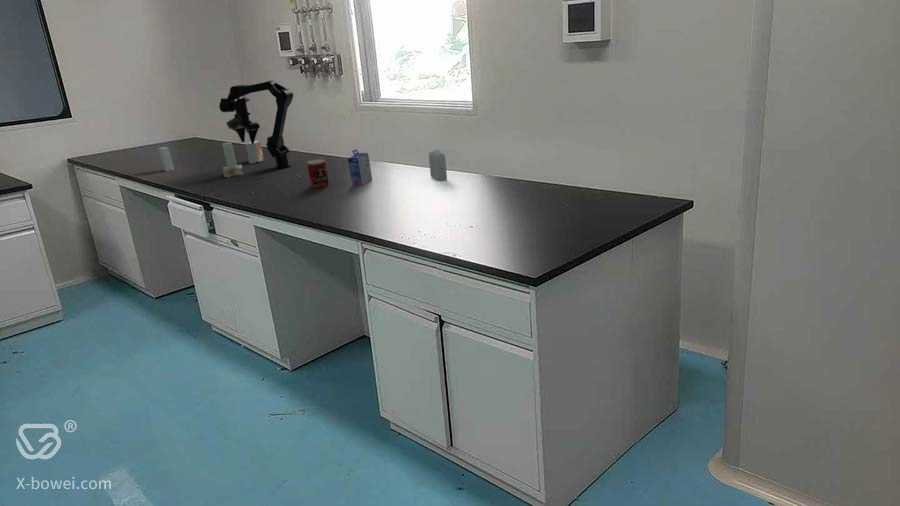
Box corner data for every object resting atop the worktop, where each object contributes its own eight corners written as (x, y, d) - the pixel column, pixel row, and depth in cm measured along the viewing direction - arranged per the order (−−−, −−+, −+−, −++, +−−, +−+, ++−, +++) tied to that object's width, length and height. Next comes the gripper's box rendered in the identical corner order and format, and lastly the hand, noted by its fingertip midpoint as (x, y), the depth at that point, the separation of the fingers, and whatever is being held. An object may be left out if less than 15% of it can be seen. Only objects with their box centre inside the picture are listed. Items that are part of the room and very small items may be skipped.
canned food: (314, 189, 269) (309, 164, 265) (309, 186, 275) (304, 161, 271) (331, 186, 272) (327, 161, 268) (325, 182, 278) (322, 158, 275)
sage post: (236, 165, 312) (231, 141, 308) (236, 168, 308) (231, 143, 303) (228, 167, 311) (223, 143, 307) (227, 169, 307) (222, 144, 302)
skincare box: (174, 170, 335) (169, 147, 330) (166, 171, 332) (160, 149, 328) (171, 168, 339) (165, 146, 335) (162, 170, 337) (157, 147, 332)
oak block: (243, 172, 316) (241, 164, 315) (243, 175, 308) (242, 167, 307) (224, 175, 314) (222, 167, 312) (224, 178, 306) (223, 170, 304)
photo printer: (448, 180, 264) (446, 150, 260) (439, 181, 263) (436, 152, 258) (438, 175, 273) (436, 147, 269) (429, 177, 272) (426, 148, 267)
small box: (259, 162, 334) (255, 143, 330) (249, 163, 334) (245, 144, 330) (264, 159, 341) (260, 140, 337) (253, 160, 341) (250, 141, 338)
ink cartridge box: (361, 180, 278) (356, 147, 273) (372, 180, 276) (368, 147, 271) (351, 186, 269) (346, 152, 264) (362, 186, 267) (358, 152, 262)
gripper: (217, 113, 313) (224, 144, 318) (236, 114, 301) (243, 147, 306) (237, 109, 320) (243, 140, 326) (257, 111, 308) (263, 142, 314)
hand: (248, 142), depth 318 cm, fingers open, 9 cm apart
